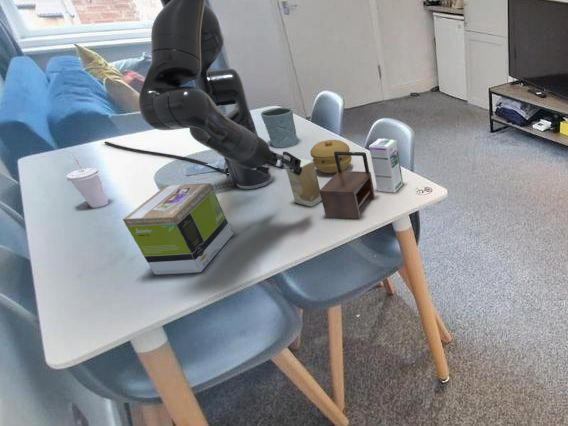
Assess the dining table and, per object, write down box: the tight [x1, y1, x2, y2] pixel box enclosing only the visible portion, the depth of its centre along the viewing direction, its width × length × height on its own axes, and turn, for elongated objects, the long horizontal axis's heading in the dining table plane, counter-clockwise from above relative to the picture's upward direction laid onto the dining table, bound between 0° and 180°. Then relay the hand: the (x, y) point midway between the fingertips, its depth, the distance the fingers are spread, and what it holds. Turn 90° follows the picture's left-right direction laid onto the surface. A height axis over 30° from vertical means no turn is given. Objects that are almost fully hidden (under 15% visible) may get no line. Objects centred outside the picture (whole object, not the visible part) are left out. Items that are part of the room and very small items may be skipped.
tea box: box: [122, 182, 234, 276], centre depth 94 cm, size 15×10×15 cm, turn 5°
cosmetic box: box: [285, 156, 322, 207], centre depth 116 cm, size 6×4×12 cm
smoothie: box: [65, 156, 109, 209], centre depth 114 cm, size 6×6×14 cm
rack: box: [319, 151, 376, 220], centre depth 113 cm, size 9×12×14 cm
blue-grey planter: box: [260, 107, 299, 149], centre depth 154 cm, size 10×10×12 cm
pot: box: [309, 139, 353, 174], centre depth 135 cm, size 12×12×10 cm
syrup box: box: [368, 138, 404, 194], centre depth 123 cm, size 6×6×14 cm
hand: (283, 171), depth 107 cm, fingers open, 8 cm apart
